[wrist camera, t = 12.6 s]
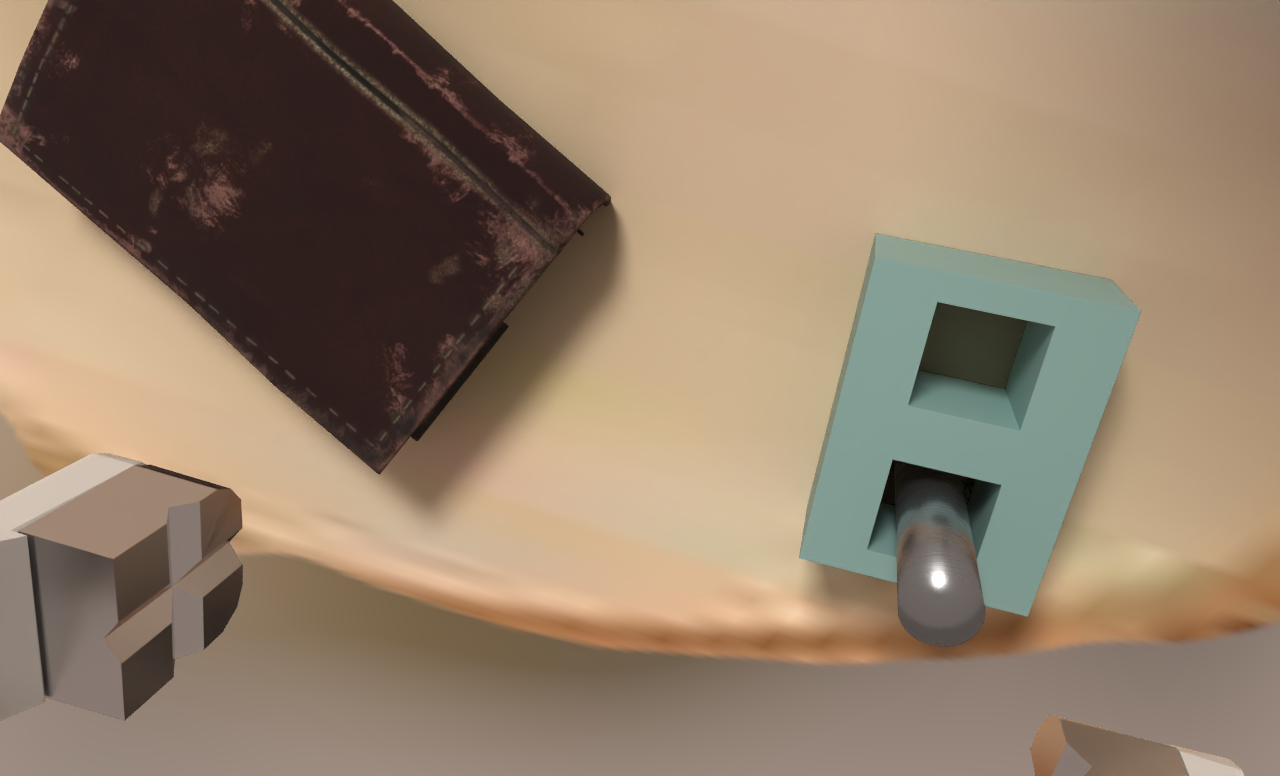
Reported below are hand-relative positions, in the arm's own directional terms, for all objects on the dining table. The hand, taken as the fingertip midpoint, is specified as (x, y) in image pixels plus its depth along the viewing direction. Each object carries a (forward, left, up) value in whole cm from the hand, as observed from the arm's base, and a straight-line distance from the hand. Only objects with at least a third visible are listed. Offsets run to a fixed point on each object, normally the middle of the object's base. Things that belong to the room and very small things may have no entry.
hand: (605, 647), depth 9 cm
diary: (+4, -24, -36) cm, 44 cm away
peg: (+12, +8, -35) cm, 38 cm away
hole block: (+9, +8, -35) cm, 37 cm away
